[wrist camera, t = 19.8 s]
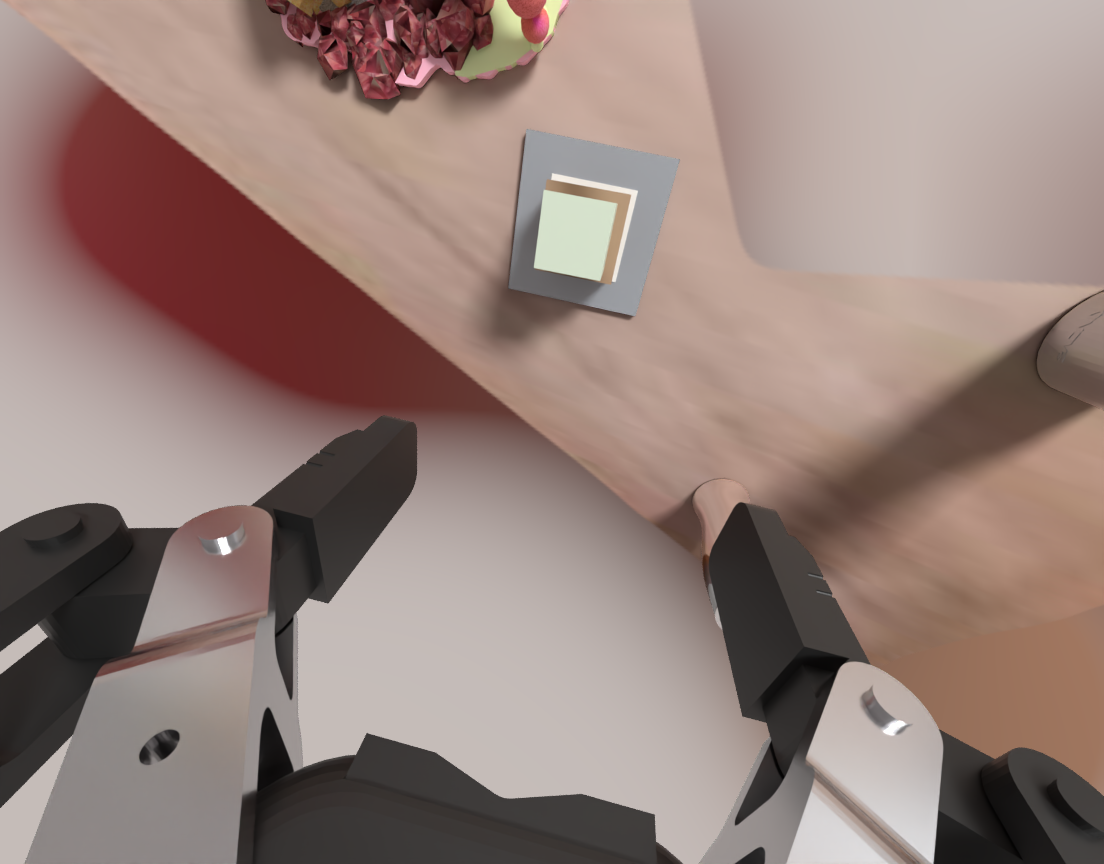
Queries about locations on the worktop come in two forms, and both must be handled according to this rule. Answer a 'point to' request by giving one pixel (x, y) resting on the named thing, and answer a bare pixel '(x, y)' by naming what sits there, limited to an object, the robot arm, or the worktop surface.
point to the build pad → (602, 170)
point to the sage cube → (574, 235)
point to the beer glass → (715, 520)
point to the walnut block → (618, 224)
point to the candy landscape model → (419, 37)
